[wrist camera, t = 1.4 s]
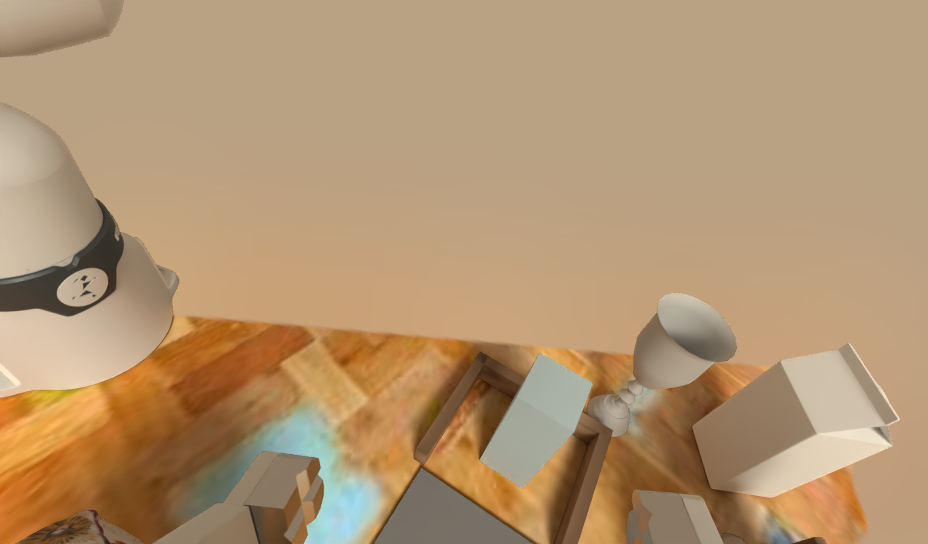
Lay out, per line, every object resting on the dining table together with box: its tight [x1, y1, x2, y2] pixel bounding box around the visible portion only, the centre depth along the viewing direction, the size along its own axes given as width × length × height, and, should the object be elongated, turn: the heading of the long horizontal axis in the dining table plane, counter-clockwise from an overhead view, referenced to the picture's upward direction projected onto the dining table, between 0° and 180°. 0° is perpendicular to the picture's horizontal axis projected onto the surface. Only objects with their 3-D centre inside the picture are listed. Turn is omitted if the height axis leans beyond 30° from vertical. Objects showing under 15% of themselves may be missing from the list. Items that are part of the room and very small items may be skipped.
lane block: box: [479, 353, 593, 489], centre depth 40 cm, size 5×5×14 cm
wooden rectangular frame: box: [414, 352, 613, 544], centre depth 44 cm, size 16×13×3 cm
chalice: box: [587, 293, 737, 437], centre depth 44 cm, size 7×7×18 cm
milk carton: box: [692, 343, 900, 498], centre depth 42 cm, size 7×7×19 cm
